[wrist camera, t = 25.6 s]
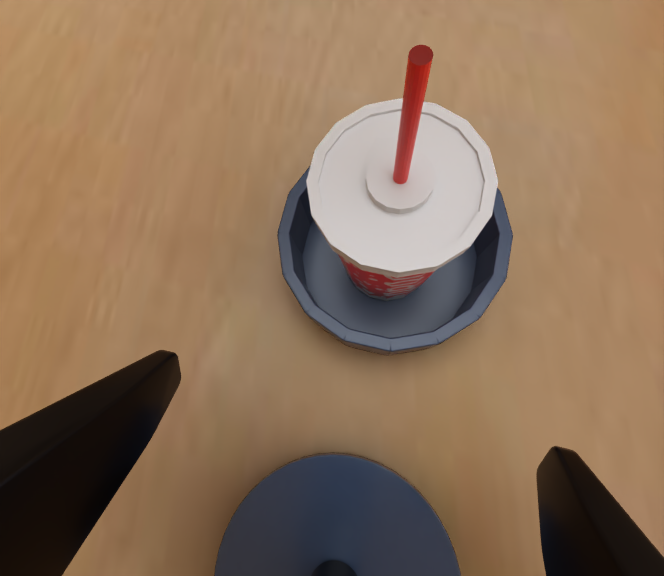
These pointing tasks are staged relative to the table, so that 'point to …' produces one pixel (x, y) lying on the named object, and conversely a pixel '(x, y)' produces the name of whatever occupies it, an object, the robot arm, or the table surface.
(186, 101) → the table surface
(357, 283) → the beverage cup
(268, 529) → the lid
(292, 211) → the pot
